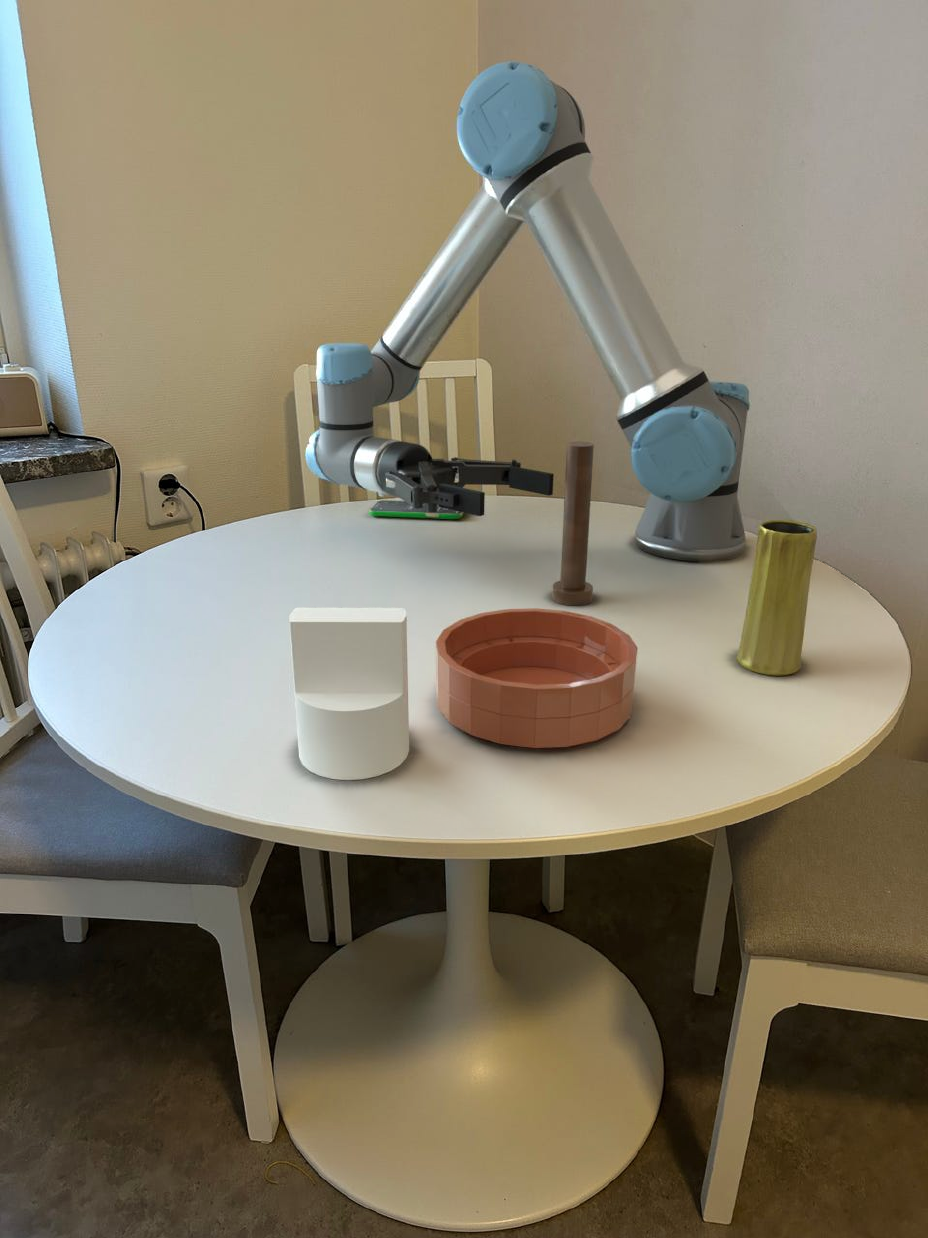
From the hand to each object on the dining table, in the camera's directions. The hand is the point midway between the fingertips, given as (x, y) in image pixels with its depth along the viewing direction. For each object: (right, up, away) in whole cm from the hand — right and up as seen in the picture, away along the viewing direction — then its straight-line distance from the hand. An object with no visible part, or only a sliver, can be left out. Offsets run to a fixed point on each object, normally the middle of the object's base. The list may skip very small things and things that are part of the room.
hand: (518, 494), depth 106 cm
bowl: (0, -23, -27) cm, 35 cm away
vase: (+24, -20, -18) cm, 36 cm away
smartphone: (-14, +2, +36) cm, 38 cm away
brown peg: (+6, -13, -1) cm, 14 cm away
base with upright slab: (-16, -26, -34) cm, 46 cm away
